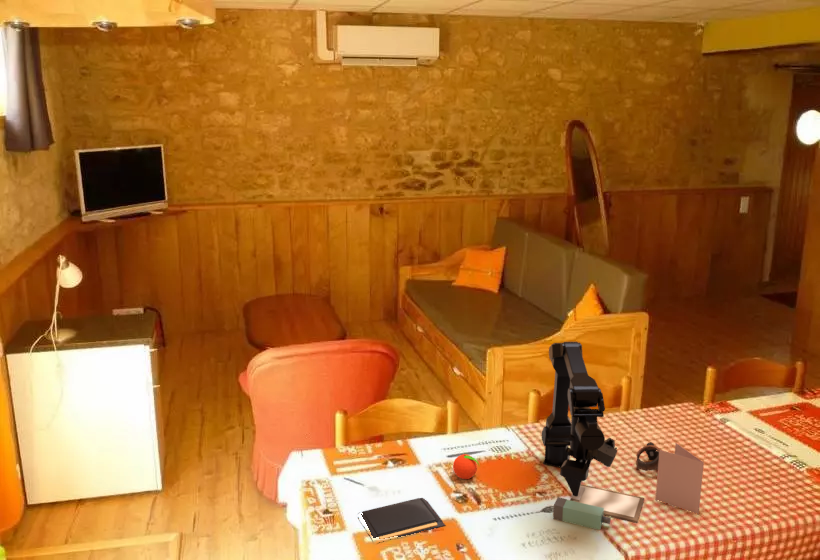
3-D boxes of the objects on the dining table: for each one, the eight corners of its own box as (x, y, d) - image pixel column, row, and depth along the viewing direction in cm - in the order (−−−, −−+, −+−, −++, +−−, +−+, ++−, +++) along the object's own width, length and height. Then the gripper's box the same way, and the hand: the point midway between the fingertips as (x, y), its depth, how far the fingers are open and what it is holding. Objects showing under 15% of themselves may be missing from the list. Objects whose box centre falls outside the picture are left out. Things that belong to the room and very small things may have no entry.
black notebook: (424, 493, 196) (446, 522, 182) (424, 499, 196) (446, 529, 183) (354, 508, 189) (372, 540, 175) (354, 514, 190) (372, 547, 176)
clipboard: (567, 506, 191) (567, 502, 190) (577, 485, 201) (577, 481, 201) (637, 522, 183) (637, 518, 183) (644, 499, 194) (644, 495, 193)
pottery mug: (677, 479, 205) (667, 459, 202) (645, 489, 208) (635, 470, 204) (666, 450, 216) (657, 431, 212) (636, 460, 218) (627, 441, 215)
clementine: (483, 475, 207) (484, 452, 206) (475, 486, 201) (475, 463, 200) (458, 469, 211) (458, 447, 209) (449, 480, 205) (449, 458, 203)
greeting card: (701, 513, 187) (706, 461, 183) (677, 518, 185) (681, 466, 181) (674, 491, 197) (678, 442, 194) (650, 496, 195) (654, 446, 192)
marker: (553, 518, 185) (553, 504, 184) (557, 511, 189) (557, 497, 188) (608, 532, 180) (608, 517, 179) (611, 523, 183) (612, 509, 182)
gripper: (608, 454, 167) (604, 513, 171) (622, 422, 183) (618, 476, 187) (561, 444, 172) (558, 502, 176) (578, 414, 188) (576, 467, 192)
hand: (579, 487), depth 182 cm, fingers open, 9 cm apart
